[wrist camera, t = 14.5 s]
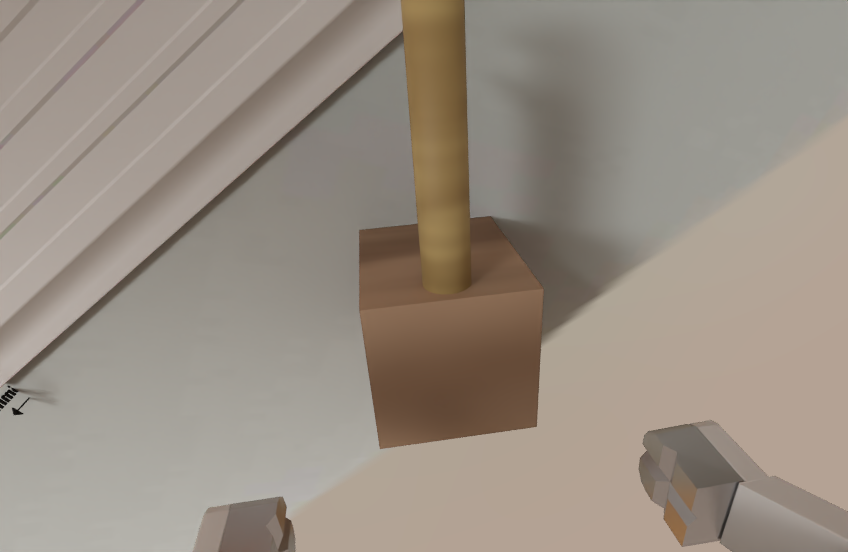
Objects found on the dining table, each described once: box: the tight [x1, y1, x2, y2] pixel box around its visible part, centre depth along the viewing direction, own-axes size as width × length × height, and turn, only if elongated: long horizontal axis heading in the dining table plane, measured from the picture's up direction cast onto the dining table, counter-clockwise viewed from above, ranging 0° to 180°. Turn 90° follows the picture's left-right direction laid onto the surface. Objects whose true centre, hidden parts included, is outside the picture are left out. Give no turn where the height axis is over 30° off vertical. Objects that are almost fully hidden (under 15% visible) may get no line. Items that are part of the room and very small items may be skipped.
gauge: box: [359, 0, 544, 449], centre depth 15 cm, size 12×5×6 cm, turn 4°
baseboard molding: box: [0, 0, 403, 415], centre depth 14 cm, size 31×3×12 cm
